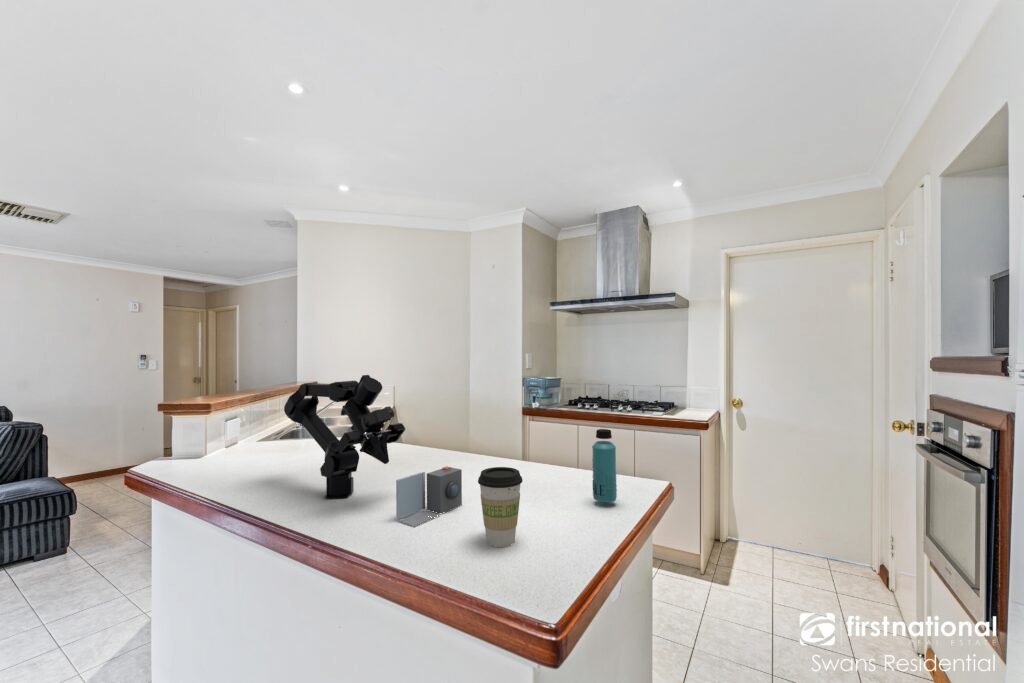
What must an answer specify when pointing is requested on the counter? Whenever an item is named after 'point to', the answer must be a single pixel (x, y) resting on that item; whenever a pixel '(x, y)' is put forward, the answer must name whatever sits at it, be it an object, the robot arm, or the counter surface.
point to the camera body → (439, 494)
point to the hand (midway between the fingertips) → (387, 462)
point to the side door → (410, 494)
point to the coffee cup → (500, 504)
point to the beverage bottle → (604, 468)
